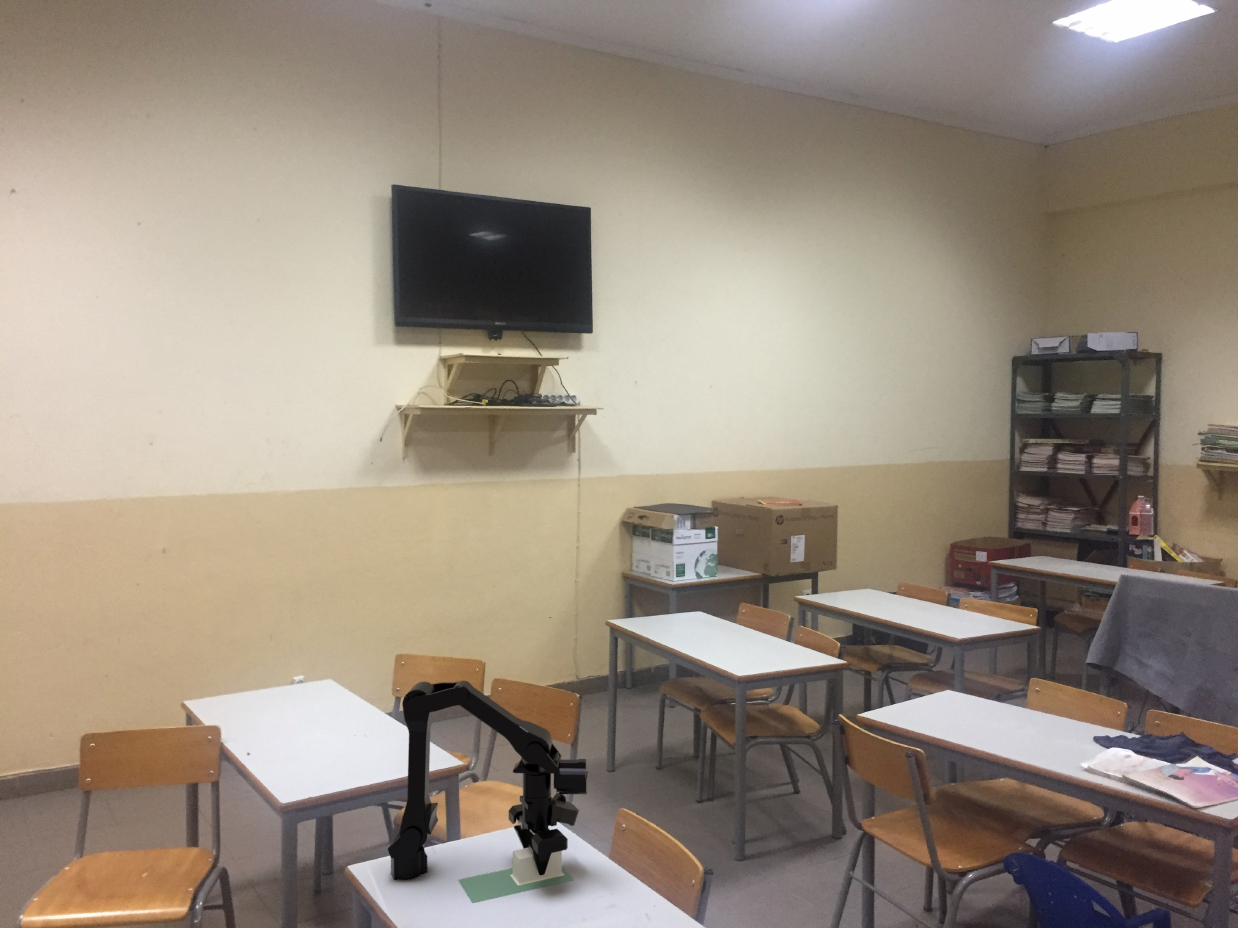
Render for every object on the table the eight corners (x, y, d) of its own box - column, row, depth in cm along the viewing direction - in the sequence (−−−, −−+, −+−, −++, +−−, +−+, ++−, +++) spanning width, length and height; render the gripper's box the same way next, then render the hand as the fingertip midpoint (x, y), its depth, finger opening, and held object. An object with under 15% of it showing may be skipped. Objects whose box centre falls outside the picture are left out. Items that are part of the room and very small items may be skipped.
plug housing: (519, 883, 183) (519, 858, 183) (512, 874, 186) (512, 850, 186) (561, 874, 187) (561, 850, 187) (554, 865, 190) (554, 842, 190)
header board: (472, 907, 176) (472, 889, 176) (458, 884, 185) (458, 867, 185) (574, 884, 185) (574, 867, 185) (555, 863, 194) (555, 846, 194)
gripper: (592, 802, 181) (592, 880, 182) (557, 770, 198) (557, 842, 198) (538, 813, 176) (538, 893, 177) (507, 779, 193) (507, 852, 194)
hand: (537, 868), depth 187 cm, fingers open, 5 cm apart
